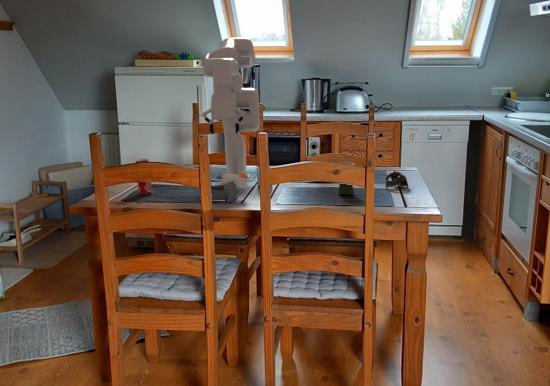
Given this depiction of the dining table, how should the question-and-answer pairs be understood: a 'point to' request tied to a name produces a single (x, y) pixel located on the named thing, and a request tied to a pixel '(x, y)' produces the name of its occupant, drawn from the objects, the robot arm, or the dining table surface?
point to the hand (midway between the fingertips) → (224, 133)
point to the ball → (243, 175)
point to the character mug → (344, 187)
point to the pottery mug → (396, 180)
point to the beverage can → (144, 186)
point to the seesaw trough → (233, 179)
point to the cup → (218, 192)
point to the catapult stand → (232, 192)
